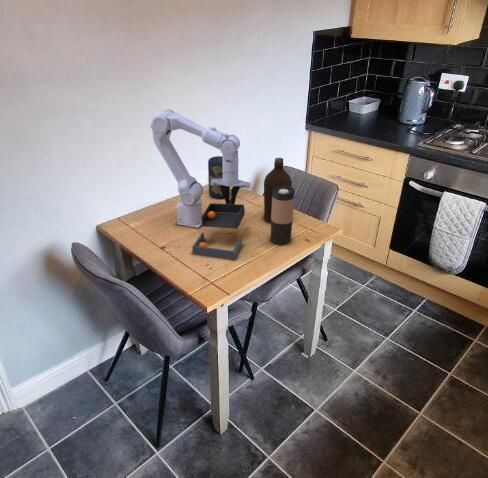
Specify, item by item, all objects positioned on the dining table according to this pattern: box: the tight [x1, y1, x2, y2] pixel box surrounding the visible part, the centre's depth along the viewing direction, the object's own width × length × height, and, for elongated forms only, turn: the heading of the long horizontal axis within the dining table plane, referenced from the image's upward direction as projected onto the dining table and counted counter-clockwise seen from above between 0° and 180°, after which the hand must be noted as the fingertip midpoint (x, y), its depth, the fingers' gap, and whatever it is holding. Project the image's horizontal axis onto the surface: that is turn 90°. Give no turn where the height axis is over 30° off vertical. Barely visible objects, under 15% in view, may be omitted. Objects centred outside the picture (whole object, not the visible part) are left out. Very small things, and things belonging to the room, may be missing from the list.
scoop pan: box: [201, 196, 246, 229], centre depth 158 cm, size 19×13×4 cm
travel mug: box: [270, 186, 296, 246], centre depth 153 cm, size 8×8×20 cm
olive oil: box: [263, 157, 293, 224], centre depth 166 cm, size 11×11×25 cm
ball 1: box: [199, 241, 208, 247], centre depth 152 cm, size 3×3×3 cm
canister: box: [207, 155, 231, 199], centre depth 189 cm, size 10×10×18 cm
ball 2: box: [207, 211, 216, 219], centre depth 156 cm, size 3×3×3 cm
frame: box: [192, 232, 243, 261], centre depth 152 cm, size 10×15×3 cm
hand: (230, 204), depth 163 cm, fingers closed on scoop pan, 2 cm apart
